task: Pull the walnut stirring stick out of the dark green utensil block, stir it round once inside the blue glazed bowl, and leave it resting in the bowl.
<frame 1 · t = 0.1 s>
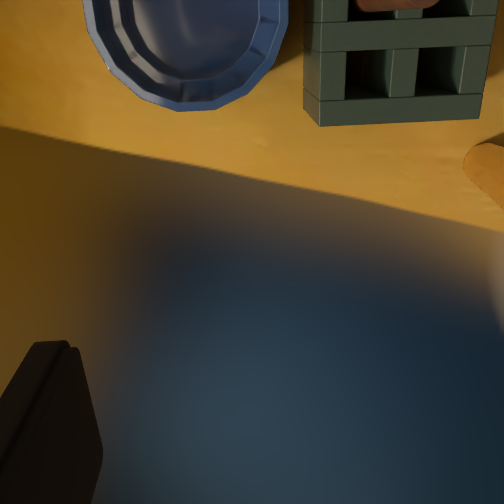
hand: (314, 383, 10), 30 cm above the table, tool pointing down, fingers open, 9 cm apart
bowl: (192, 8, 33), on the table
holder: (375, 31, 35), on the table
beer glass: (485, 159, 39), on the table
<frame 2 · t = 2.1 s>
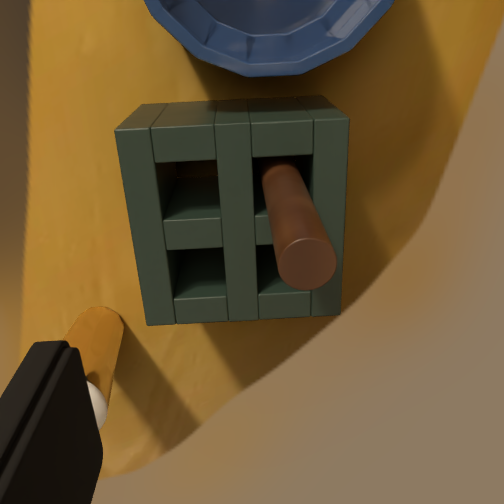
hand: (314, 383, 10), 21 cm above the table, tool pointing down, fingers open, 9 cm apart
stick: (271, 149, 29), resting in holder
holder: (237, 186, 30), on the table
beer glass: (104, 328, 34), on the table
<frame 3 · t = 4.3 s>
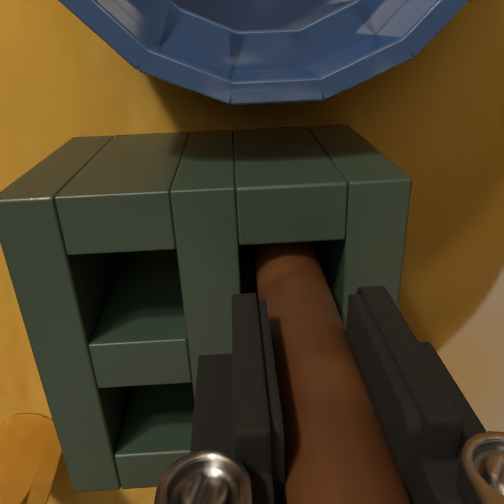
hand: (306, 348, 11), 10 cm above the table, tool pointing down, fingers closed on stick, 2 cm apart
stick: (271, 202, 19), resting in holder, touching gripper
holder: (220, 254, 20), on the table
beer glass: (38, 438, 24), on the table
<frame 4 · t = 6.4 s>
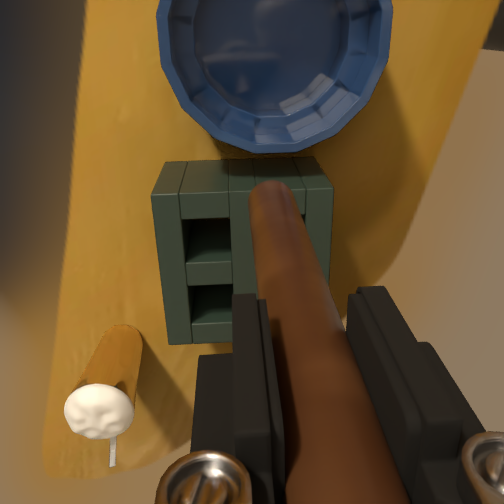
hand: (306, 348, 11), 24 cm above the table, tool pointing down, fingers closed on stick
bowl: (267, 35, 30), on the table
stick: (271, 202, 19), point 14 cm above the table, touching gripper
holder: (242, 227, 35), on the table
beer glass: (125, 342, 40), on the table
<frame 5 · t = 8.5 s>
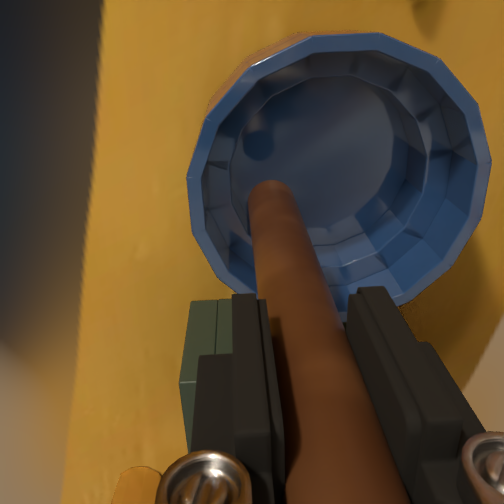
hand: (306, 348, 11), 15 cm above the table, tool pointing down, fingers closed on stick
bowl: (317, 162, 24), on the table
stick: (270, 202, 19), point 5 cm above the table, touching gripper
holder: (281, 366, 30), on the table
beer glass: (143, 483, 34), on the table
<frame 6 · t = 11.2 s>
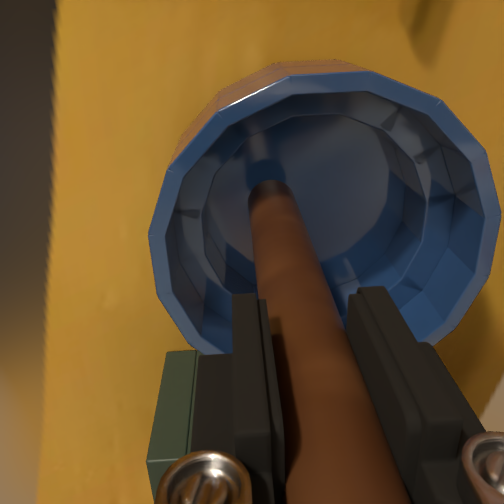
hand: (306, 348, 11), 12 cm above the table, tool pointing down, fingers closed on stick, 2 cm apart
bowl: (303, 203, 22), on the table
stick: (271, 201, 19), point 2 cm above the table, touching gripper
holder: (268, 418, 27), on the table
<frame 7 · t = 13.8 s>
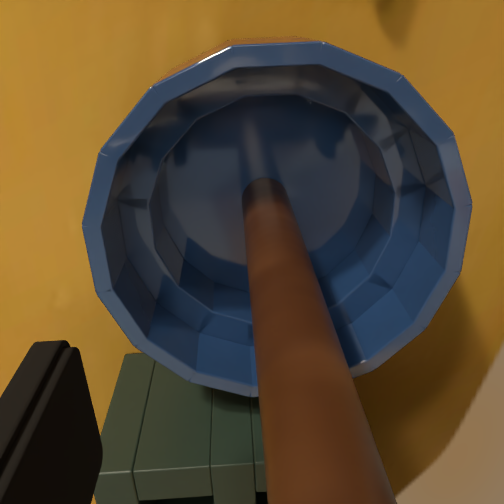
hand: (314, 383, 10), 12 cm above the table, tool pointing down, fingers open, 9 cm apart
bowl: (266, 194, 20), on the table
stick: (264, 199, 20), point 1 cm above the table, touching bowl
holder: (236, 424, 26), on the table
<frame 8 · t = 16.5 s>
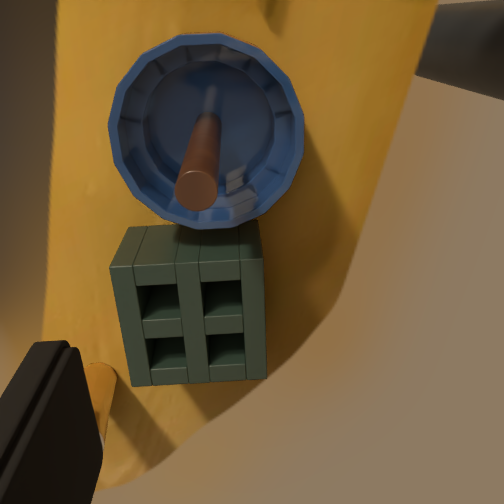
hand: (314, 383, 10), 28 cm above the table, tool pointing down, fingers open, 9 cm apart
bowl: (210, 123, 35), on the table
stick: (208, 125, 34), point 1 cm above the table, touching bowl
holder: (198, 279, 41), on the table
beer glass: (101, 377, 45), on the table
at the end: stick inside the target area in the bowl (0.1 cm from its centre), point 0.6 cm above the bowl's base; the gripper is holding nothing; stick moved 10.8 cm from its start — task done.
